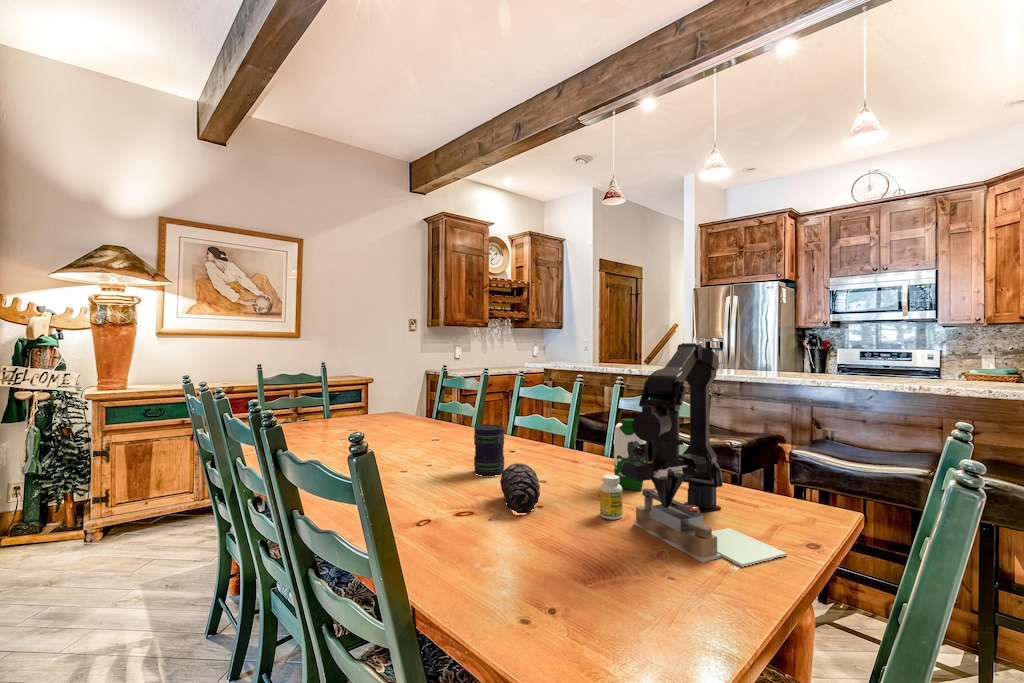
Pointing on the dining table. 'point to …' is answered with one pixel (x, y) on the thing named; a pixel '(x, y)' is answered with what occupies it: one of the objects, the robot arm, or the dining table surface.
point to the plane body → (679, 535)
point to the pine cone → (520, 487)
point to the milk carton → (625, 453)
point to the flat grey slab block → (675, 518)
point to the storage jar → (489, 450)
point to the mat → (743, 548)
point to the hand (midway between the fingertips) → (665, 507)
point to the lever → (674, 503)
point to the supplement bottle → (611, 497)
